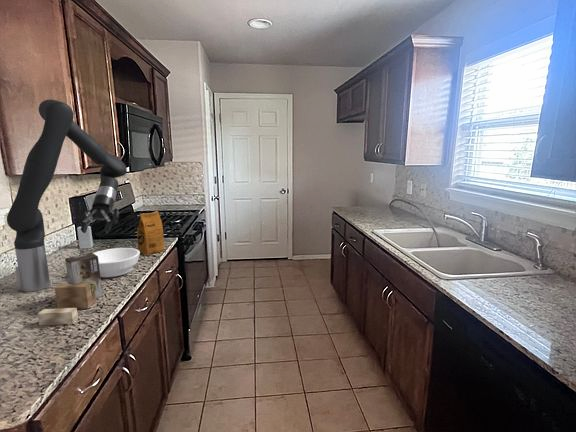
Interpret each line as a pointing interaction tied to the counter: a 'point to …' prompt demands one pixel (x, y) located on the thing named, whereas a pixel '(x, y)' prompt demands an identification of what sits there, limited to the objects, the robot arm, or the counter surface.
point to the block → (74, 296)
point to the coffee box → (85, 272)
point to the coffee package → (150, 233)
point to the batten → (57, 316)
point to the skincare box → (85, 238)
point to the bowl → (117, 261)
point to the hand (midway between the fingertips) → (94, 231)
